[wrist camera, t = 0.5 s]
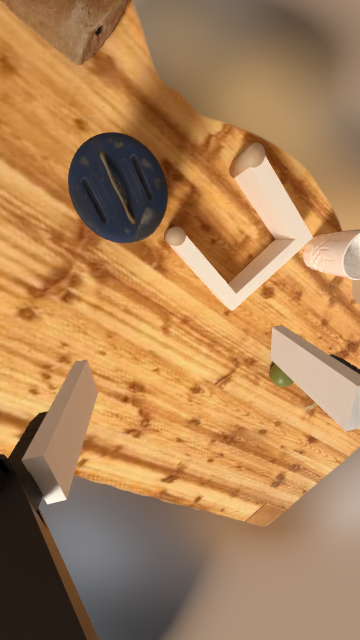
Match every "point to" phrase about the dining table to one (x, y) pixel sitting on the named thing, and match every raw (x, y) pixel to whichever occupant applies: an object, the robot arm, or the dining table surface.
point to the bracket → (275, 214)
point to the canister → (118, 187)
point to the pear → (279, 377)
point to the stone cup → (70, 23)
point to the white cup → (335, 254)
